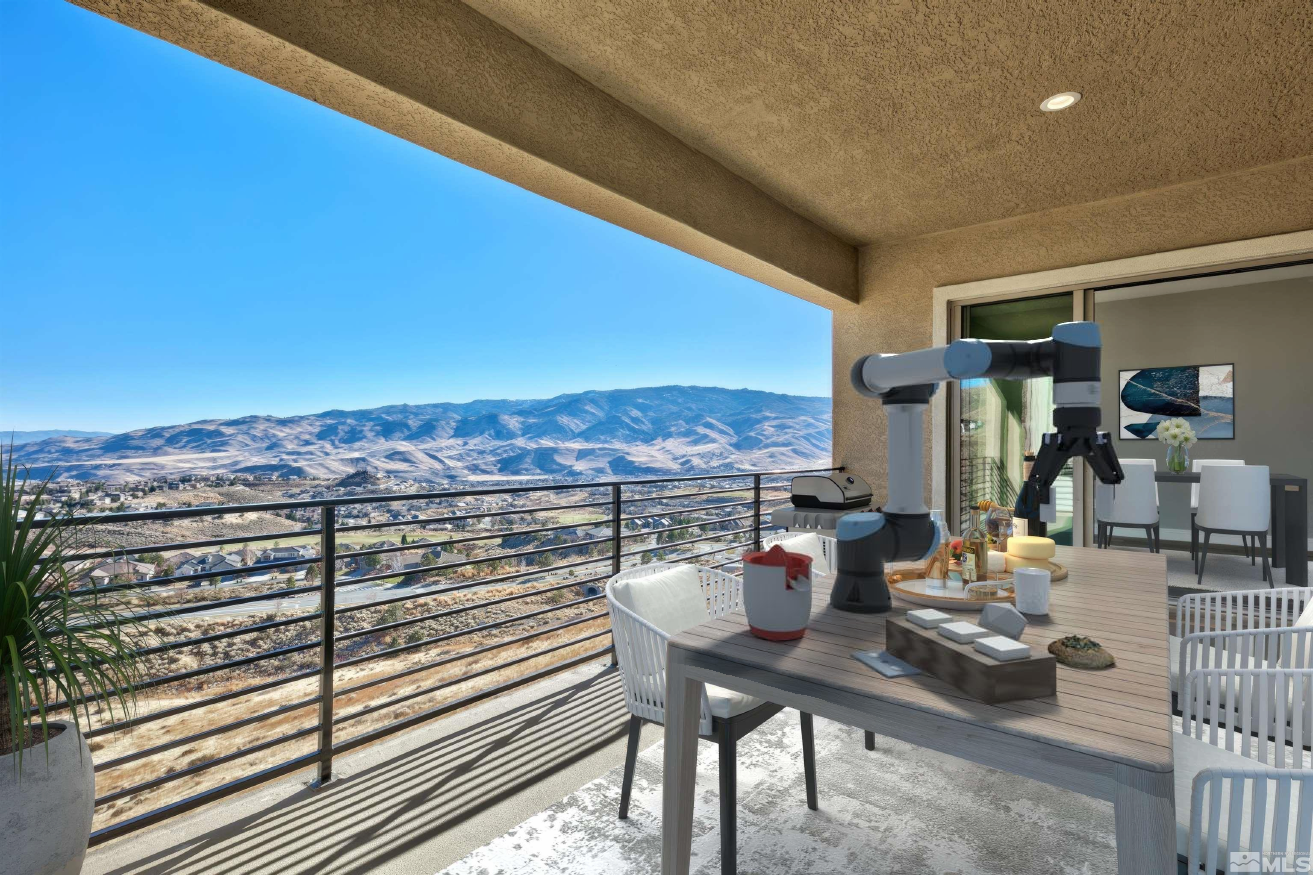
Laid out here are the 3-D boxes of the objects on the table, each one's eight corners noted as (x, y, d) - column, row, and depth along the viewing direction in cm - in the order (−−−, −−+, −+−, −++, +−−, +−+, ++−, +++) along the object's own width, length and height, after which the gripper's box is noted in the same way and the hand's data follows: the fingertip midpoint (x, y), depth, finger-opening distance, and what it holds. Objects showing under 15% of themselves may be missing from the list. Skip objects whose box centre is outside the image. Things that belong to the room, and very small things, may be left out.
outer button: (974, 656, 111) (974, 639, 111) (1001, 652, 113) (1001, 635, 112) (1001, 668, 105) (1001, 650, 105) (1030, 664, 107) (1030, 646, 107)
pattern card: (850, 655, 126) (850, 652, 126) (881, 651, 128) (881, 649, 128) (888, 677, 114) (888, 675, 114) (921, 673, 116) (921, 670, 116)
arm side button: (907, 625, 128) (907, 611, 128) (931, 623, 130) (931, 608, 130) (927, 635, 122) (927, 619, 122) (952, 632, 124) (952, 616, 124)
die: (1024, 653, 128) (1040, 611, 130) (984, 631, 129) (1000, 590, 132) (1003, 654, 135) (1018, 614, 138) (965, 633, 137) (981, 594, 140)
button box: (885, 649, 129) (885, 618, 128) (942, 642, 132) (942, 612, 132) (989, 704, 103) (989, 665, 103) (1056, 694, 106) (1056, 656, 106)
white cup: (1058, 615, 151) (1057, 574, 151) (1024, 615, 151) (1024, 574, 151) (1038, 606, 159) (1038, 567, 158) (1007, 606, 159) (1006, 567, 158)
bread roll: (1050, 644, 131) (1054, 621, 130) (1116, 664, 124) (1120, 639, 123) (1041, 662, 122) (1045, 637, 122) (1111, 684, 115) (1115, 658, 115)
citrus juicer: (774, 652, 128) (773, 554, 128) (729, 628, 144) (728, 541, 143) (834, 640, 135) (833, 547, 134) (784, 619, 150) (783, 535, 150)
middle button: (938, 639, 120) (938, 624, 119) (964, 636, 121) (964, 621, 121) (961, 650, 114) (961, 634, 114) (988, 646, 115) (988, 630, 115)
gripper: (1040, 405, 110) (1040, 526, 110) (1147, 405, 116) (1148, 519, 116) (1005, 407, 117) (1006, 520, 117) (1108, 407, 124) (1109, 514, 124)
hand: (1077, 520), depth 117 cm, fingers open, 13 cm apart
